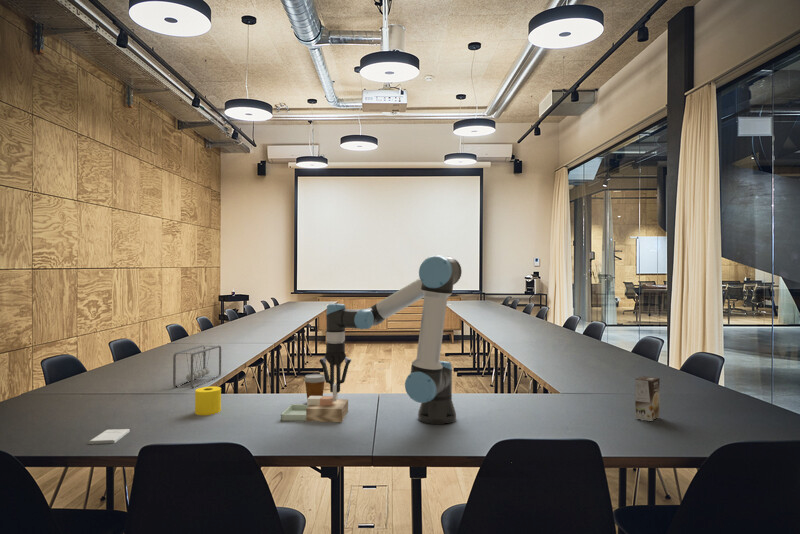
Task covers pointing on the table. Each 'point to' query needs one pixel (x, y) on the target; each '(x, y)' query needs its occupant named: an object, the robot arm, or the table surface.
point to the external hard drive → (109, 436)
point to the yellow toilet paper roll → (207, 400)
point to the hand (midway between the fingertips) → (335, 400)
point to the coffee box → (647, 398)
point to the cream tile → (313, 400)
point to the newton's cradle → (198, 373)
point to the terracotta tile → (326, 400)
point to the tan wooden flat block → (328, 412)
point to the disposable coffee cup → (314, 384)
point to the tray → (294, 413)
